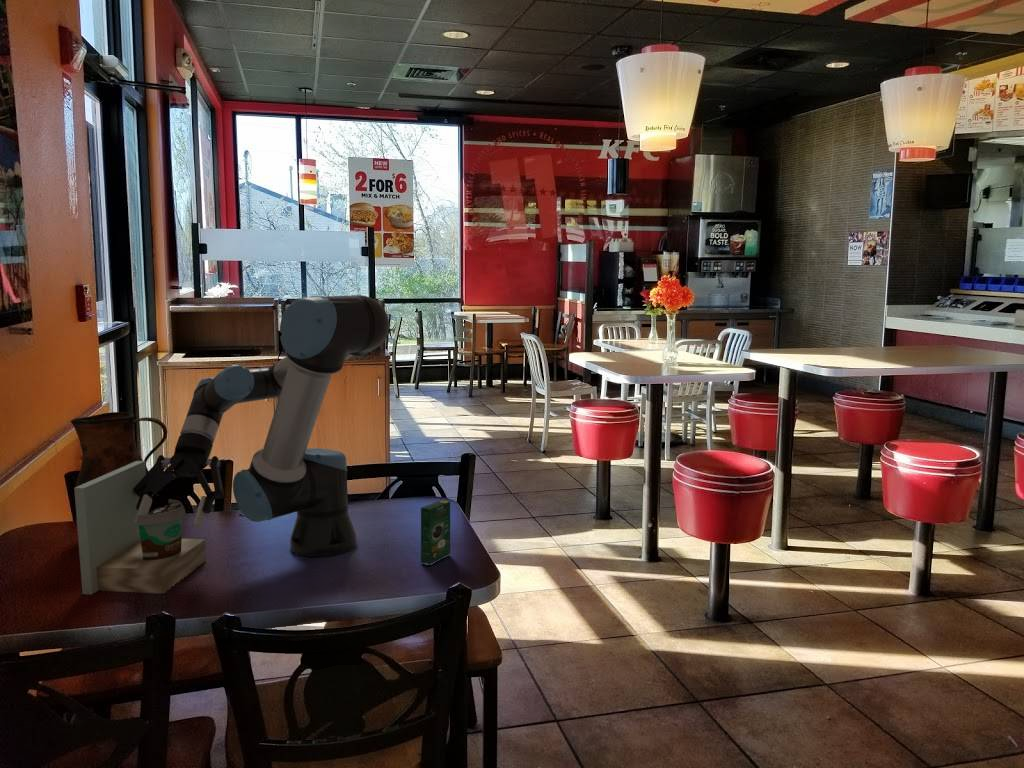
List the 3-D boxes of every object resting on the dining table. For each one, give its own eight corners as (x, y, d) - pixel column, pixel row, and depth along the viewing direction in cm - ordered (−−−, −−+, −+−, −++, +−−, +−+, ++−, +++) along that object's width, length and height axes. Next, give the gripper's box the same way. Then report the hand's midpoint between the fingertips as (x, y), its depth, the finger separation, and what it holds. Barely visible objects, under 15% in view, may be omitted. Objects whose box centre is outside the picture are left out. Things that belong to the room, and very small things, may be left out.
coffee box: (441, 553, 184) (440, 498, 182) (451, 555, 182) (451, 500, 180) (419, 564, 177) (419, 507, 175) (430, 566, 175) (429, 509, 173)
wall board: (151, 555, 182) (145, 461, 178) (92, 594, 160) (83, 488, 157) (142, 554, 182) (136, 460, 178) (82, 594, 160) (74, 487, 157)
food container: (166, 564, 163) (163, 517, 161) (138, 562, 163) (135, 515, 162) (198, 543, 175) (196, 499, 173) (172, 542, 176) (170, 498, 174)
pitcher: (89, 527, 200) (80, 410, 196) (180, 522, 205) (173, 407, 200) (67, 550, 184) (57, 423, 180) (166, 544, 189) (158, 419, 184)
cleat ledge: (206, 560, 178) (204, 539, 178) (163, 593, 161) (162, 569, 160) (146, 558, 180) (145, 537, 179) (98, 590, 162) (96, 566, 161)
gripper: (253, 449, 184) (229, 534, 171) (152, 447, 186) (120, 531, 173) (243, 431, 178) (217, 518, 165) (138, 429, 180) (104, 516, 167)
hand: (167, 525), depth 169 cm, fingers open, 12 cm apart
